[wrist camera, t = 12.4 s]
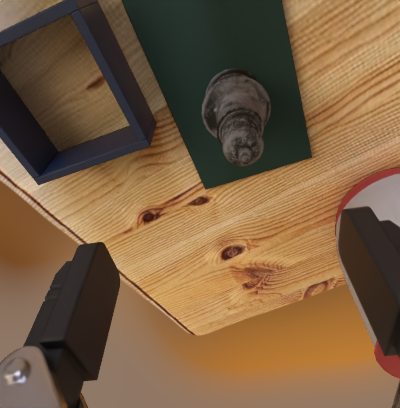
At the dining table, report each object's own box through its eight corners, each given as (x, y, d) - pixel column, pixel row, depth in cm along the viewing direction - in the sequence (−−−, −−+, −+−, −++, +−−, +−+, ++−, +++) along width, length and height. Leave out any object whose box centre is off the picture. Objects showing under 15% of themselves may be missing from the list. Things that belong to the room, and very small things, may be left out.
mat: (120, -6, 26) (119, -5, 26) (265, -75, 24) (267, -76, 23) (205, 186, 38) (205, 189, 37) (310, 154, 35) (312, 157, 34)
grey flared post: (277, 94, 30) (311, 156, 21) (233, 138, 33) (245, 211, 24) (232, 49, 28) (246, 96, 19) (189, 100, 31) (182, 164, 21)
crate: (-25, 47, 29) (-62, 62, 25) (92, -10, 26) (72, -4, 22) (56, 160, 36) (38, 185, 32) (157, 123, 33) (150, 146, 29)
